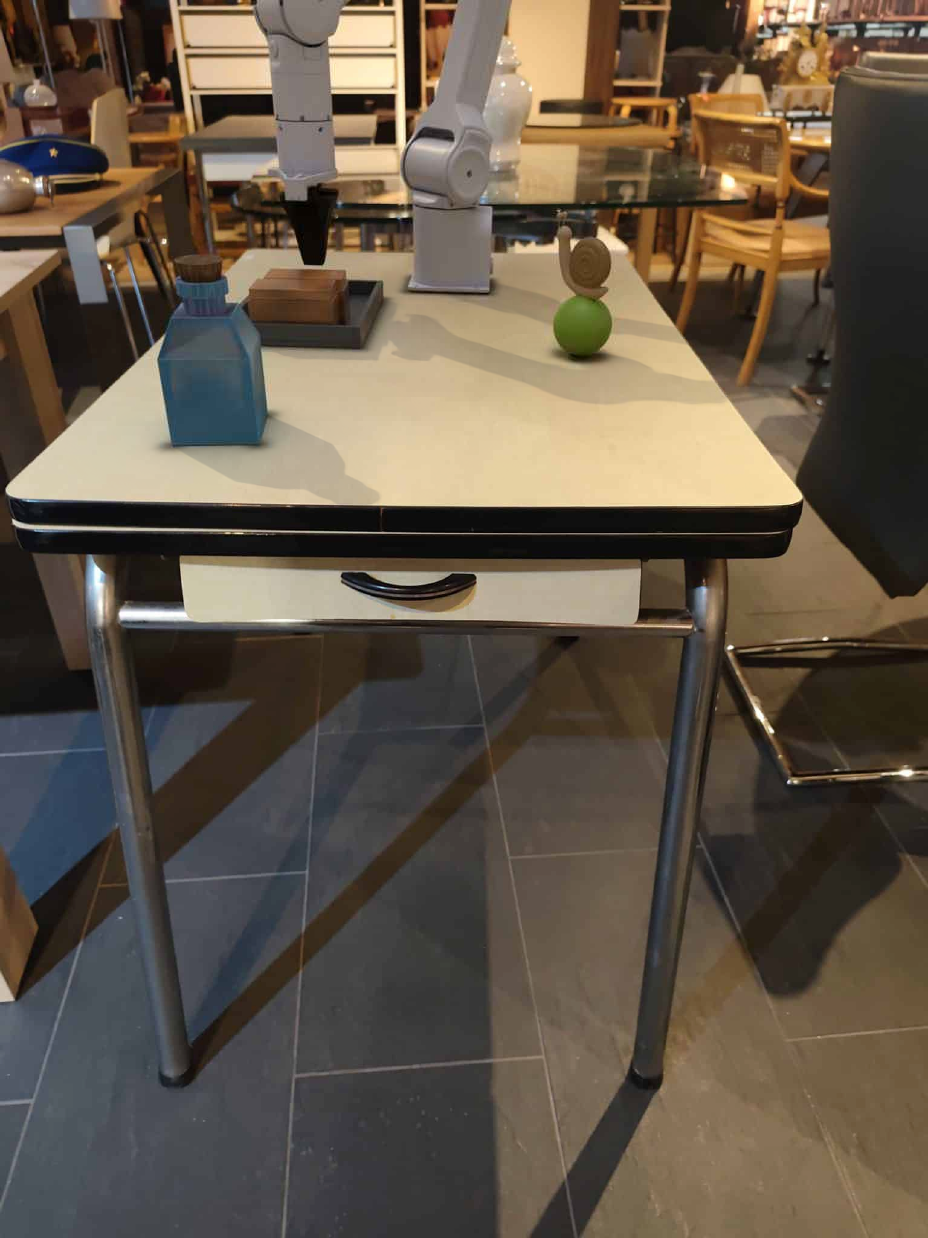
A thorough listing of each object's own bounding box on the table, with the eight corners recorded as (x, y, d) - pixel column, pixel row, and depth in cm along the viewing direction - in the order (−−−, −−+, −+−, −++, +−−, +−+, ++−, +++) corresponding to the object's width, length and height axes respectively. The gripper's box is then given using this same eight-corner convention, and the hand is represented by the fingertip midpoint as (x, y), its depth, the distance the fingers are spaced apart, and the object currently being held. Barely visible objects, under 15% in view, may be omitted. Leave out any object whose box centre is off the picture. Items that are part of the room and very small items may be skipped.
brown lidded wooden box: (350, 314, 92) (348, 269, 90) (345, 326, 88) (343, 279, 86) (273, 313, 92) (268, 267, 89) (265, 325, 88) (260, 277, 86)
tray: (383, 298, 100) (383, 280, 99) (361, 348, 84) (360, 326, 83) (267, 295, 100) (265, 276, 99) (223, 344, 84) (220, 322, 83)
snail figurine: (568, 340, 88) (579, 208, 81) (620, 355, 84) (636, 217, 77) (531, 351, 84) (540, 214, 78) (583, 366, 81) (597, 224, 74)
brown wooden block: (340, 326, 88) (337, 279, 86) (335, 339, 84) (332, 290, 82) (260, 325, 88) (255, 277, 86) (251, 337, 84) (245, 288, 82)
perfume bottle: (186, 414, 69) (160, 249, 62) (267, 413, 69) (250, 250, 62) (171, 445, 63) (141, 269, 57) (259, 444, 64) (239, 269, 57)
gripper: (278, 113, 94) (290, 249, 101) (246, 124, 82) (262, 278, 89) (345, 114, 94) (351, 250, 101) (322, 126, 82) (332, 280, 89)
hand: (314, 264), depth 95 cm, fingers closed
